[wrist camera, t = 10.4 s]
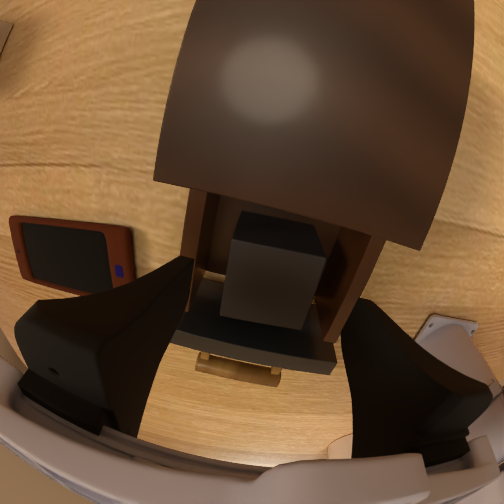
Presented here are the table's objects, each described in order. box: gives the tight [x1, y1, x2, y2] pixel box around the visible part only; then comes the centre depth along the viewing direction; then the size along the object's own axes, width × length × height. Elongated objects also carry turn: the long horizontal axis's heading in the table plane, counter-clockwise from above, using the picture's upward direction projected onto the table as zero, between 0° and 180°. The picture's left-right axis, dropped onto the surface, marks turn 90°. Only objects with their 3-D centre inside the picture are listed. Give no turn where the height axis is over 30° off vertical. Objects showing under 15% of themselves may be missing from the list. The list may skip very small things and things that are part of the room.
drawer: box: [170, 188, 386, 387], centre depth 16 cm, size 17×10×6 cm, turn 167°
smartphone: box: [9, 216, 135, 296], centre depth 20 cm, size 7×1×15 cm
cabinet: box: [153, 0, 474, 251], centre depth 11 cm, size 14×12×8 cm
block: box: [220, 211, 327, 330], centre depth 15 cm, size 4×4×4 cm
